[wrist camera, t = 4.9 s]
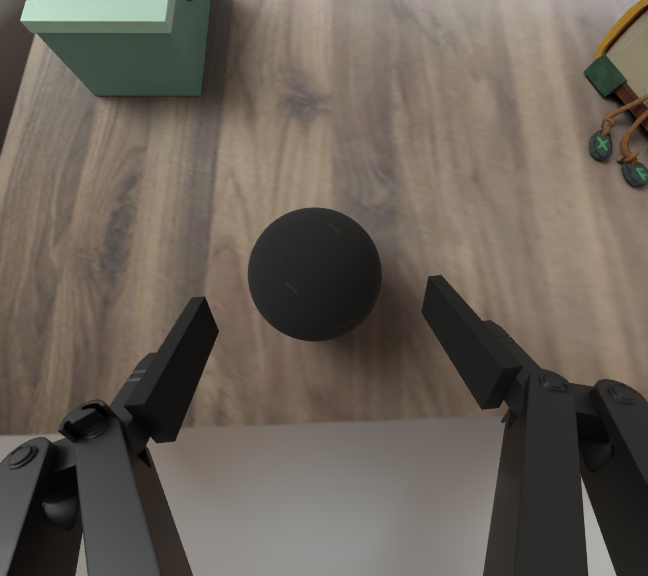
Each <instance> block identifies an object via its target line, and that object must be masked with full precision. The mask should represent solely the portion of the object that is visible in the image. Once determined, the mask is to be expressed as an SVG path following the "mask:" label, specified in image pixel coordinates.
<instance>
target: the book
mask: <svg viewBox="0 0 648 576" xmlns="http://www.w3.org/2000/svg"><path fill="white" fill-rule="evenodd" d="M584 73H585V74H586V75H587V77H588V78H589V79H590V80H591V82H592V83H593V84H594V85H595V86H596V88H597V89H598V90H599V91H600V93H601V94H602V95H603V96H604V97H606V96H608V95H611V94H613V93H614V92H615V93H616V94H617V95H618V97H619V98H620V99H621V100H622V101H623V103H624V104H625V106H623V107H621V108H618V109H616V110H615V111H613V112H612V113H610V114H608V115H607V116H606V117H605V118H604V119H603V122H602V125H601V128H603V130H601V131H598V132H596V133H595V134H594V135H593V136H591V139H590V151H591V154H592V155H593V156H594V157H595V158H596V159H598V160H601V161H603V160H605V159H606V158H608V157H609V156H610V155H612V140H611V136H610V134H609V132H610V130H611V127H612V126H613V125H614V124H615V121H614V120H613V119H612V118H613V117H615V116H616V115H618V114H620V113H622V112H624V111H626V110H628V109H629V110H630V111H631V112H632V113H633V115H634V116H635V117H636V118H637V120H636V121H635V122H634V123H633V125H632V126H631V127H630V128H629V129H628V131H627V132H626V133H625V134H624V135H623V138H622V140H621V143H620V151H621V153H622V154H623V155H624V156H622V155H620V156H618V157H617V161H620V160H624V163H625V164H624V165H623V166H622V170H623V174H624V176H625V177H626V179H627V181H628V182H629V183H630V184H631V185H633V186H638V187H641V186H643V185H645V184H647V182H648V169H647V168H646V167H645V166H644V165H643V164H641V163H639V162H637V160H638V159H637V158H636V157H637V156H638V155H639V152H635V153H633V154H632V153H631V152H630V151H629V149H628V141H629V138H630V136H631V134H632V133H633V132H634V131H635V129H636V128H637V127H638V126H639V124H640V123H641V124H642V125H643V127H644V128H645V129H646V130H647V131H648V0H640V1H639V2H638V3H637V4H635V5H634V6H633V7H631V8H630V9H629V10H628V11H627V12H626V13H625V14H624V15H623V16H622V17H621V18H620V19H619V21H618V22H617V23H616V24H615V25H614V26H613V27H612V28H611V30H610V31H609V32H608V33H607V34H606V35H605V37H604V38H603V40H602V41H601V43H600V44H599V46H598V48H597V51H596V53H595V61H594V62H593V63H592V64H591V65H590V66H589V67H588V68H587V69H586V70H585V71H584ZM647 150H648V149H647Z"/></svg>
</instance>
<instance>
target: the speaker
mask: <svg viewBox="0 0 648 576" xmlns="http://www.w3.org/2000/svg"><path fill="white" fill-rule="evenodd" d="M381 278H382V271H381V263H380V258H379V255H378V252H377V249H376V247H375V245H374V243H373V241H372V239H371V238H370V236H369V235H368V233H367V232H366V231H365V230H364V229H363V228H362V227H361V226H360V225H359V224H358V223H357V222H355V221H354V220H353V219H351V218H350V217H348V216H346V215H344V214H342V213H340V212H337V211H334V210H331V209H326V208H304V209H299V210H295V211H292V212H290V213H287V214H285V215H283V216H281V217H280V218H278V219H277V220H275V221H274V222H273V223H271V224H270V225H269V226H268V227H267V228H266V229H265V230H264V231H263V233H262V234H261V235H260V237H259V238H258V240H257V242H256V244H255V246H254V248H253V250H252V253H251V256H250V260H249V266H248V283H249V289H250V293H251V296H252V299H253V301H254V303H255V305H256V307H257V309H258V310H259V312H260V313H261V315H262V316H263V317H264V318H265V319H266V321H267V322H268V323H269V324H271V325H272V326H273V327H274V328H276V329H277V330H279V331H280V332H282V333H284V334H286V335H288V336H290V337H293V338H296V339H300V340H305V341H325V340H330V339H334V338H337V337H340V336H342V335H344V334H346V333H348V332H350V331H351V330H353V329H354V328H355V327H357V326H358V325H359V324H360V323H361V322H362V321H363V320H364V319H365V318H366V317H367V316H368V314H369V313H370V311H371V310H372V308H373V306H374V304H375V302H376V300H377V298H378V295H379V291H380V286H381Z"/></svg>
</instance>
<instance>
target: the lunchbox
mask: <svg viewBox="0 0 648 576" xmlns="http://www.w3.org/2000/svg"><path fill="white" fill-rule="evenodd" d="M210 5H211V0H26V3H25V6H24V10H23V13H22V17H21V20H20V21H21V22H22V23H23V24H24V25H25V26H26V27H27V28H28V29H29V30H30V32H31V33H37V34H38V35H39V37H40V38H41V39H42V40H43V41H44V42H45V43H46V44H47V45H48V46H49V47H50V48H51V49H52V50H53V51H54V53H55V54H56V55H57V56H58V57H59V58H60V59H61V60H62V61H63V62H64V63H65V64H66V65H67V66H68V67H69V69H70V70H71V71H72V72H73V73H74V74H75V75H76V76H77V77H78V78H79V79H80V80H81V81H82V82H83V83H84V85H85V86H86V87H87V88H88V89H89V90H90V91H91V92H92V93H93V94H94V95H95V96H201V92H202V82H203V73H204V63H205V53H206V44H207V34H208V25H209V15H210Z"/></svg>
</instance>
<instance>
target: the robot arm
mask: <svg viewBox="0 0 648 576" xmlns="http://www.w3.org/2000/svg"><path fill="white" fill-rule="evenodd" d="M421 313H422V314H423V316H424V318H425V319H426V321H427V322H428V324H429V326H430V327H431V329H432V330H433V332H434V334H435V335H436V337H437V339H438V340H439V342H440V343H441V345H442V347H443V348H444V350H445V351H446V353H447V355H448V356H449V358H450V360H451V361H452V363H453V364H454V366H455V368H456V369H457V371H458V372H459V374H460V376H461V377H462V379H463V381H464V382H465V384H466V385H467V387H468V389H469V390H470V392H471V394H472V395H473V397H474V398H475V400H476V402H477V403H478V405H479V406H480V408H481V410H484V409H494V408H499V407H500V405H501V403H502V402H503V400H504V401H505V402H506V403H507V405H508V406H509V409H508V411H507V412H506V414H505V415H504V417H503V419H502V421H501V422H502V423H504V422H505V421H506V422H505V429H504V436H503V443H502V450H501V456H500V463H499V470H498V477H497V484H496V491H495V498H494V504H493V512H492V518H491V525H490V532H489V539H488V545H487V552H486V559H485V566H484V573H483V576H588V567H587V553H586V540H585V526H584V513H583V502H582V501H583V500H582V487H581V477H582V479H583V482H584V485H585V488H586V491H587V494H588V496H589V499H590V502H591V505H592V508H593V510H594V513H595V516H596V519H597V522H598V525H599V527H600V530H601V533H602V536H603V539H604V541H605V544H606V547H607V550H608V553H609V555H610V558H611V561H612V564H613V567H614V570H615V572H616V575H617V576H648V402H647V401H646V399H645V398H644V397H643V396H642V395H641V394H640V393H638V392H637V391H636V390H634V389H633V388H631V387H629V386H627V385H625V384H623V383H620V382H617V381H614V380H608V379H603V380H599V381H598V382H597V383H596V384H595V385H594V387H591V386H585V385H579V384H573V383H569V382H568V381H567V380H566V379H564V378H563V377H562V376H560V375H558V374H556V373H554V372H552V371H549V370H545V369H541V368H540V367H539V366H538V365H537V364H536V363H535V362H534V361H533V360H532V359H531V358H530V356H529V355H528V354H527V353H526V352H525V351H524V350H523V349H522V348H521V347H520V346H519V345H518V344H517V343H515V341H514V340H513V339H512V338H511V337H509V335H508V334H507V333H506V332H505V330H504V329H503V328H502V327H500V326H499V325H497V324H495V323H494V322H492V321H491V320H488V321H482V320H481V319H480V318H479V317H478V315H477V314H476V313H475V312H474V311H473V310H472V309H471V308H470V307H469V305H468V304H467V303H466V302H465V301H464V300H463V299H462V298H461V297H460V295H459V294H458V293H457V292H456V291H455V290H454V289H453V288H452V287H451V285H450V284H449V283H448V282H447V281H446V280H445V279H444V278H443V276H442V275H438V276H429V277H428V282H427V287H426V292H425V297H424V302H423V307H422V312H421ZM218 332H219V330H218V328H217V325H216V323H215V320H214V318H213V315H212V313H211V310H210V308H209V305H208V303H207V300H206V298H205V296H204V297H193V298H191V299H190V301H189V302H188V304H187V306H186V307H185V309H184V310H183V312H182V314H181V315H180V317H179V318H178V320H177V322H176V323H175V325H174V326H173V328H172V329H171V331H170V333H169V334H168V336H167V337H166V339H165V341H164V342H163V344H162V345H161V347H160V349H159V350H158V352H157V353H149V354H148V355H147V356H146V357H145V358H143V359H142V360H141V361H140V362H139V363H138V365H137V366H136V368H135V369H134V371H133V374H131V375H130V377H129V378H128V380H127V382H126V383H125V384H124V386H123V387H122V388H121V390H120V391H119V393H118V394H117V396H116V397H115V399H114V400H113V402H112V403H111V405H110V406H108V405H107V404H106V403H105V402H104V401H102V400H93V401H89V402H87V403H84V404H82V405H80V406H79V407H77V408H76V409H74V410H73V411H71V412H70V413H69V414H68V415H67V416H66V417H65V418H64V420H63V421H62V423H61V424H60V426H59V430H58V432H59V433H61V434H62V435H63V436H65V437H66V438H64V439H61V440H58V441H56V442H53V443H52V442H51V441H49V440H48V439H46V438H45V437H38V438H35V439H31V440H29V441H27V442H25V443H23V444H22V445H20V446H18V447H17V448H16V449H14V450H13V451H12V452H11V453H9V454H8V455H7V456H6V457H5V459H4V460H3V461H2V462H1V463H0V576H75V574H76V568H77V562H78V556H79V550H80V544H81V539H82V533H83V536H84V545H85V554H86V564H87V573H88V576H193V574H192V571H191V569H190V565H189V563H188V560H187V557H186V554H185V551H184V549H183V546H182V543H181V540H180V537H179V534H178V531H177V528H176V526H175V523H174V520H173V517H172V514H171V511H170V508H169V506H168V502H167V500H166V497H165V494H164V491H163V488H162V485H161V483H160V480H159V477H158V474H157V472H156V468H155V465H154V463H153V460H152V457H151V454H150V451H149V449H148V448H147V446H146V444H147V442H148V440H149V438H150V437H151V438H152V439H153V440H154V441H155V442H156V443H165V442H173V441H175V440H176V438H177V435H178V433H179V430H180V428H181V425H182V423H183V420H184V418H185V415H186V413H187V410H188V408H189V405H190V403H191V400H192V398H193V395H194V393H195V390H196V388H197V385H198V383H199V380H200V378H201V375H202V372H203V370H204V367H205V365H206V362H207V360H208V357H209V355H210V352H211V350H212V347H213V345H214V342H215V340H216V337H217V335H218Z"/></svg>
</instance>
